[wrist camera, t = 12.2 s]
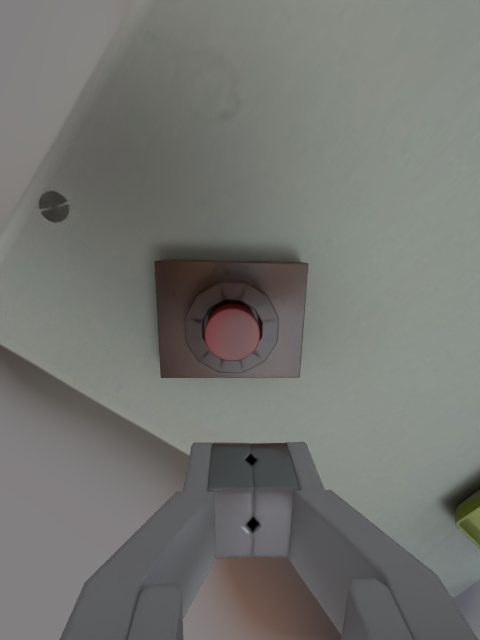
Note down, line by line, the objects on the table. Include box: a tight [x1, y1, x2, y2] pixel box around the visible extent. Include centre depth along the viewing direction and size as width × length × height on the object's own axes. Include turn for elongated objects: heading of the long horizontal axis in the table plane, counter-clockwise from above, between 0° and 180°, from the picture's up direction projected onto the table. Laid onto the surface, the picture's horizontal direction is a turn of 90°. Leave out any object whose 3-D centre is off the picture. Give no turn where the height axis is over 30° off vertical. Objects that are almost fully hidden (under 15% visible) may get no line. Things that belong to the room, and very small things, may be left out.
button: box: [205, 303, 260, 361], centre depth 19 cm, size 4×4×2 cm
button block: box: [155, 260, 308, 378], centre depth 22 cm, size 11×9×4 cm
